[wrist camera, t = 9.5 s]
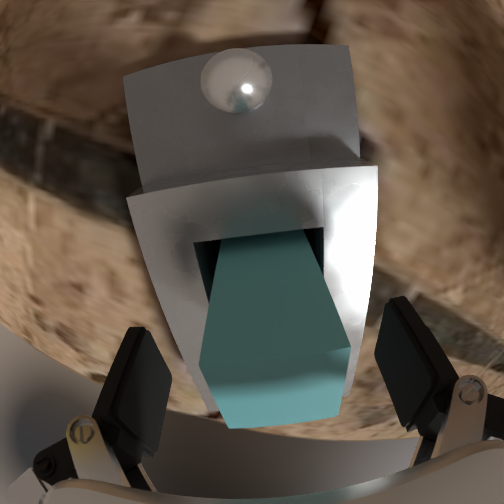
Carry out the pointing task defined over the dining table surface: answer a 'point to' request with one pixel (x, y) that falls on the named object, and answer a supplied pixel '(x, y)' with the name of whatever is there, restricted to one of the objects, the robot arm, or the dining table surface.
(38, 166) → the dining table surface
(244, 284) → the pin
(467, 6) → the dining table surface
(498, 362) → the dining table surface
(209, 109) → the grey slotted base
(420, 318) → the robot arm
